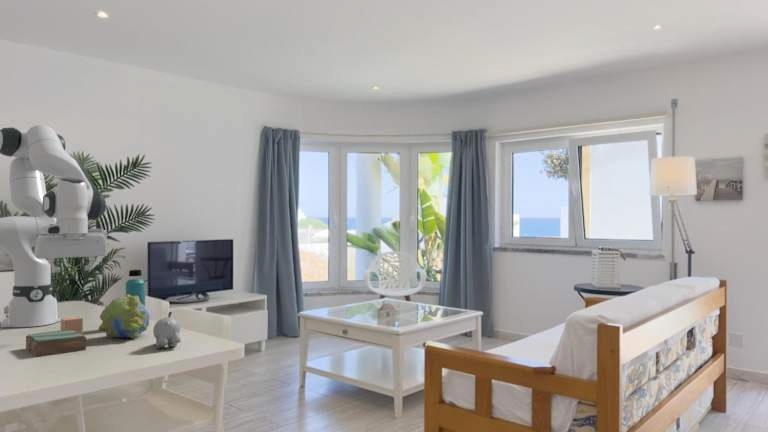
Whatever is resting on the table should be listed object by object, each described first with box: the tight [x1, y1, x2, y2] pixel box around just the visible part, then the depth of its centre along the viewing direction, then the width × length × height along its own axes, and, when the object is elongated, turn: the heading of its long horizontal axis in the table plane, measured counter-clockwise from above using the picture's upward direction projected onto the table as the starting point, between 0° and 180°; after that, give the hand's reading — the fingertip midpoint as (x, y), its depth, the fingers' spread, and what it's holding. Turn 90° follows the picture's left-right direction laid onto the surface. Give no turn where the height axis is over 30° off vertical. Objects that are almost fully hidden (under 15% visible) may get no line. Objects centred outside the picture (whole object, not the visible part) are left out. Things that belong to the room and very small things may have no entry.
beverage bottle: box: [125, 269, 146, 306], centre depth 191 cm, size 6×7×20 cm
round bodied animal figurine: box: [153, 316, 182, 349], centre depth 160 cm, size 7×12×8 cm, turn 34°
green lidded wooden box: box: [25, 329, 87, 357], centre depth 157 cm, size 14×12×4 cm
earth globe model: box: [98, 294, 151, 340], centre depth 172 cm, size 14×16×15 cm
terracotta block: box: [60, 316, 84, 335], centre depth 174 cm, size 5×5×6 cm
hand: (71, 271), depth 174 cm, fingers open, 8 cm apart
